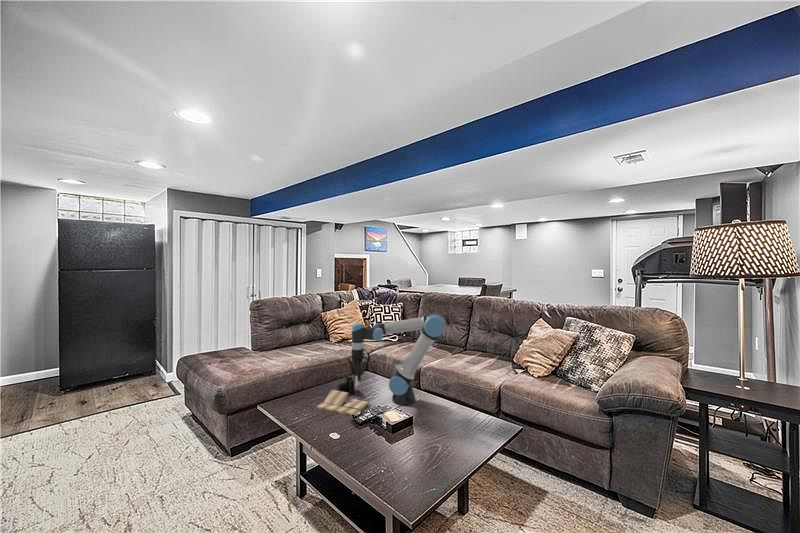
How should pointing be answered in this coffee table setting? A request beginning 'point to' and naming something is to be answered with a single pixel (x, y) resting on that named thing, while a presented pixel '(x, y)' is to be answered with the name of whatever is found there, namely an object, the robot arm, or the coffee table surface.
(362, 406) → the plank
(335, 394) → the plank
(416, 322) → the robot arm
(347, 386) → the camera
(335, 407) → the oak row
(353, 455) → the coffee table surface
